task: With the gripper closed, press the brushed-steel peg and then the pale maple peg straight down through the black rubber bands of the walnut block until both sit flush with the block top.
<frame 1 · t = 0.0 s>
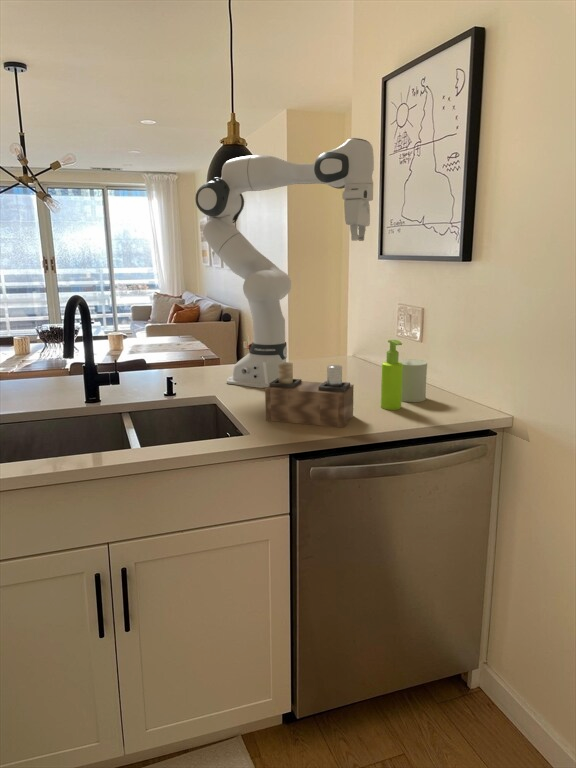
hand: (357, 240, 177), 48 cm above the worktop, fingers open, 8 cm apart
soap dispenser: (391, 408, 165), on the worktop
maple peg: (285, 377, 156), point 11 cm above the worktop, slide at 0.0 cm
walnut block: (309, 417, 156), on the worktop
steel peg: (334, 381, 151), point 11 cm above the worktop, slide at 0.0 cm
can: (410, 399, 175), on the worktop
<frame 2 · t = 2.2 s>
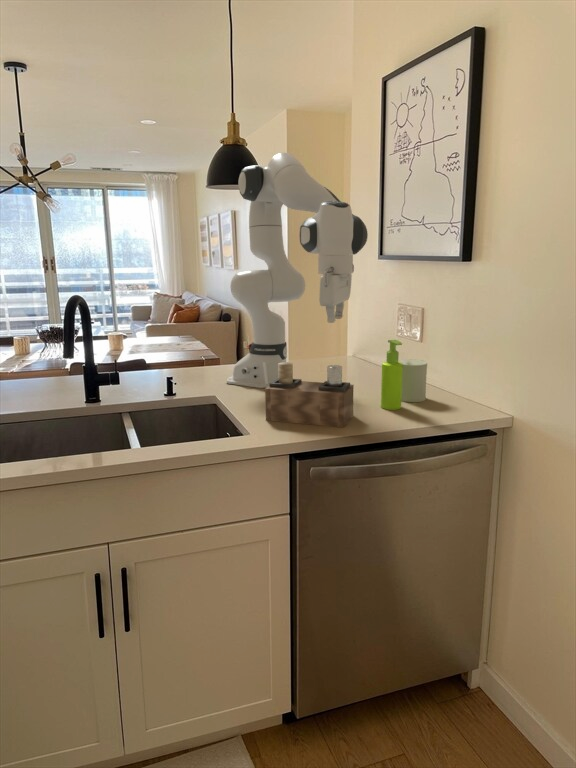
hand: (335, 320, 147), 27 cm above the worktop, fingers open, 7 cm apart
nothing on the worktop moved.
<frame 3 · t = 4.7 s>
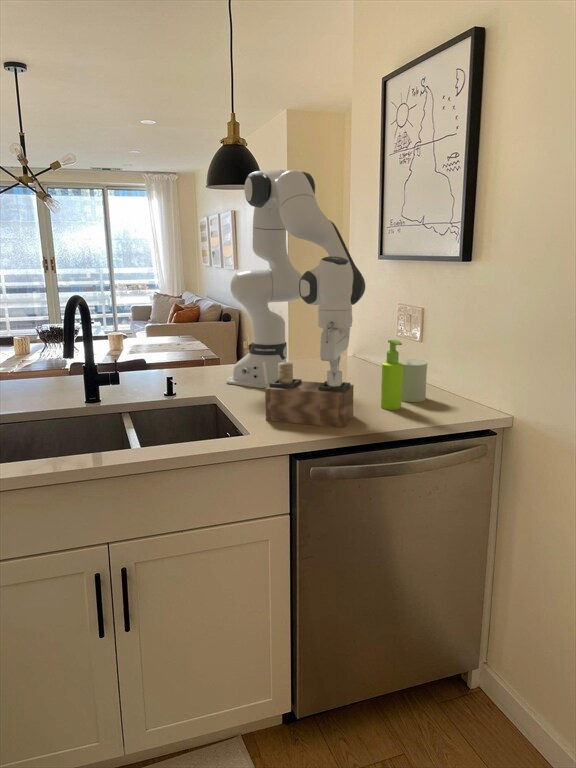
hand: (334, 371, 150), 14 cm above the worktop, fingers closed, pressing on steel peg
steel peg: (334, 386, 152), point 10 cm above the worktop, slide at 1.4 cm, touching gripper
everything else where it was.
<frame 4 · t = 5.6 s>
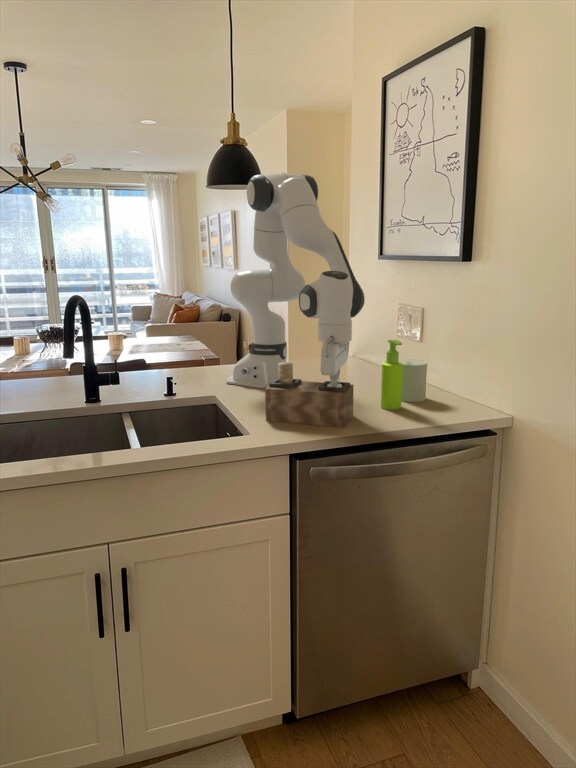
hand: (334, 384, 151), 10 cm above the worktop, fingers closed, pressing on steel peg
steel peg: (334, 399, 152), point 6 cm above the worktop, slide at 5.0 cm, touching gripper
everything else where it was.
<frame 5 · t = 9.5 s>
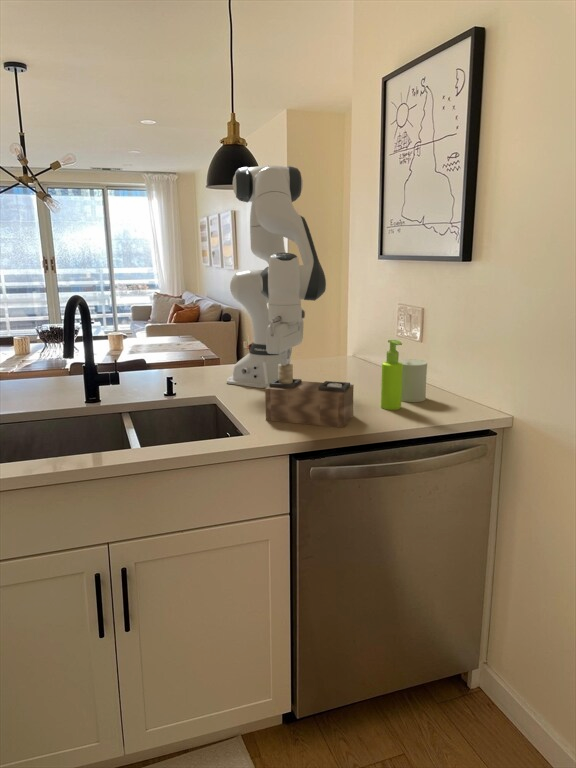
hand: (285, 364, 155), 15 cm above the worktop, fingers closed, pressing on maple peg
maple peg: (285, 378, 156), point 11 cm above the worktop, slide at 0.3 cm, touching gripper
steel peg: (334, 399, 152), point 6 cm above the worktop, slide at 5.0 cm
everything else where it was.
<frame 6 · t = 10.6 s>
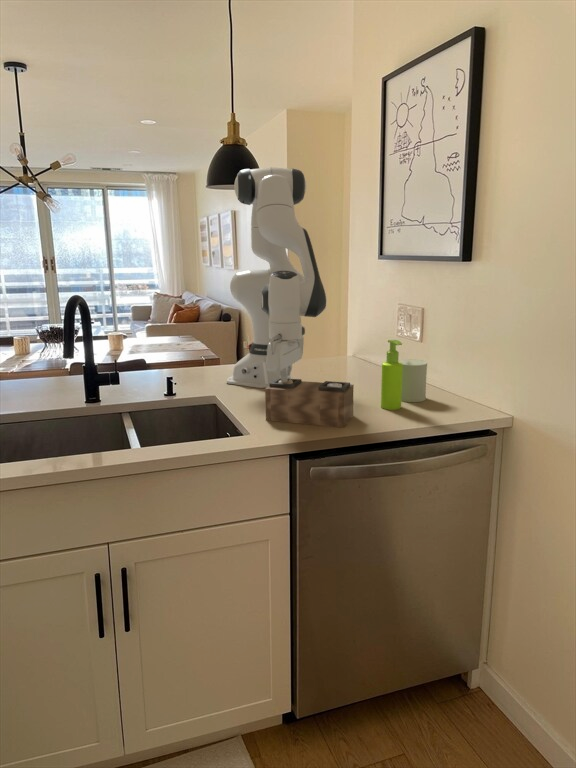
hand: (285, 381, 156), 10 cm above the worktop, fingers closed, pressing on maple peg
maple peg: (285, 395, 157), point 6 cm above the worktop, slide at 5.0 cm, touching gripper
everything else where it was.
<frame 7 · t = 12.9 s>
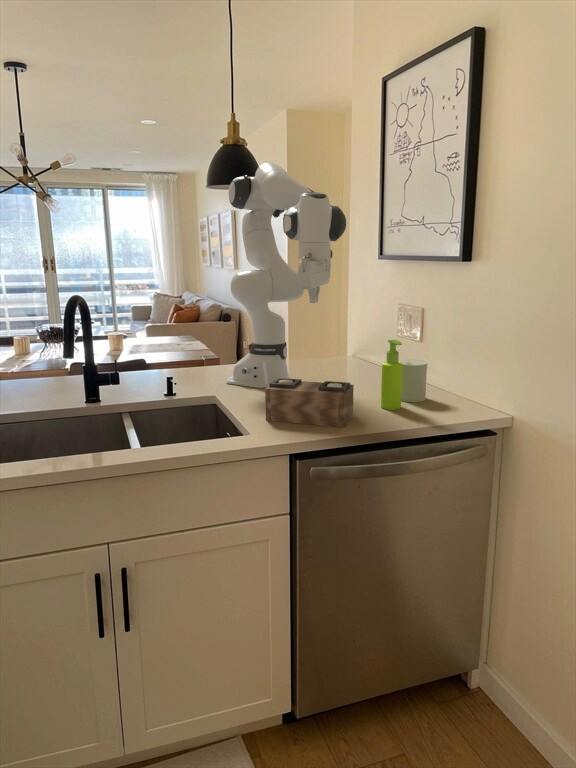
hand: (313, 302, 161), 31 cm above the worktop, fingers closed
maple peg: (285, 395, 157), point 6 cm above the worktop, slide at 5.0 cm
everything else where it was.
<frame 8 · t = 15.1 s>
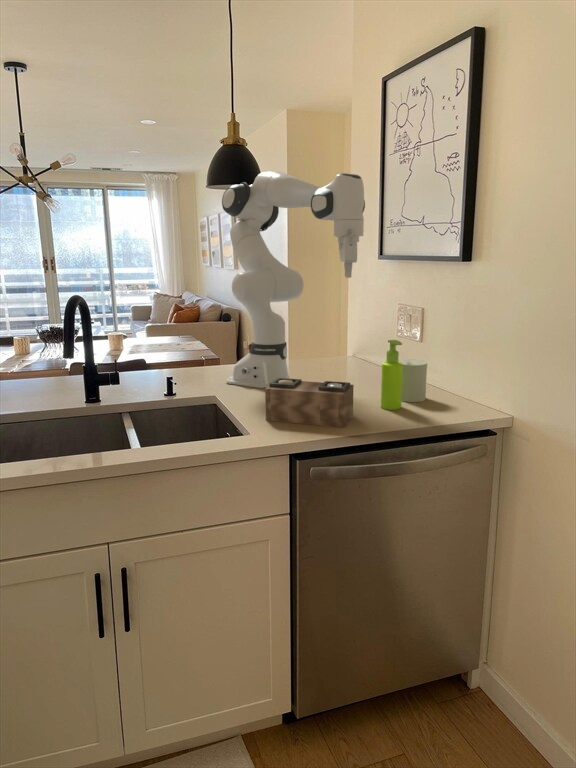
hand: (348, 277, 171), 37 cm above the worktop, fingers closed
nothing on the worktop moved.
at the end: steel peg slide at 5.0 cm; maple peg slide at 5.0 cm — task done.
